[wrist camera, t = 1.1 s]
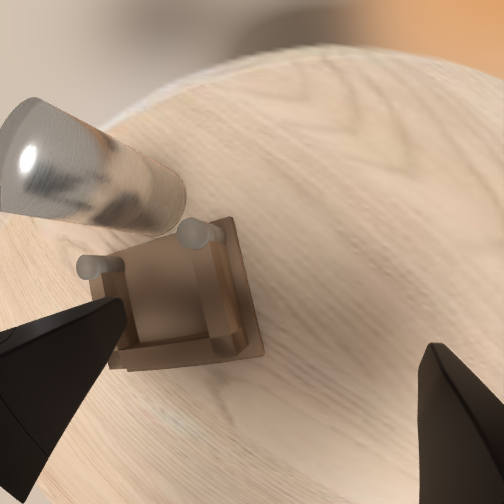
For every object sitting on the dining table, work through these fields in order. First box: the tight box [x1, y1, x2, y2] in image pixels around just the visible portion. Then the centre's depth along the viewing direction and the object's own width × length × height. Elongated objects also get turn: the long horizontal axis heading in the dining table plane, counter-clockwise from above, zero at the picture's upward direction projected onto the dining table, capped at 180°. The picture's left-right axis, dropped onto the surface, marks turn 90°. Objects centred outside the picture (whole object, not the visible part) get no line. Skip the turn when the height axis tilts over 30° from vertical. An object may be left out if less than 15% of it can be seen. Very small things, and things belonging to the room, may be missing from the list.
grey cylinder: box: [0, 97, 186, 236], centre depth 18 cm, size 6×6×14 cm
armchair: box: [76, 217, 265, 372], centre depth 21 cm, size 10×12×5 cm
